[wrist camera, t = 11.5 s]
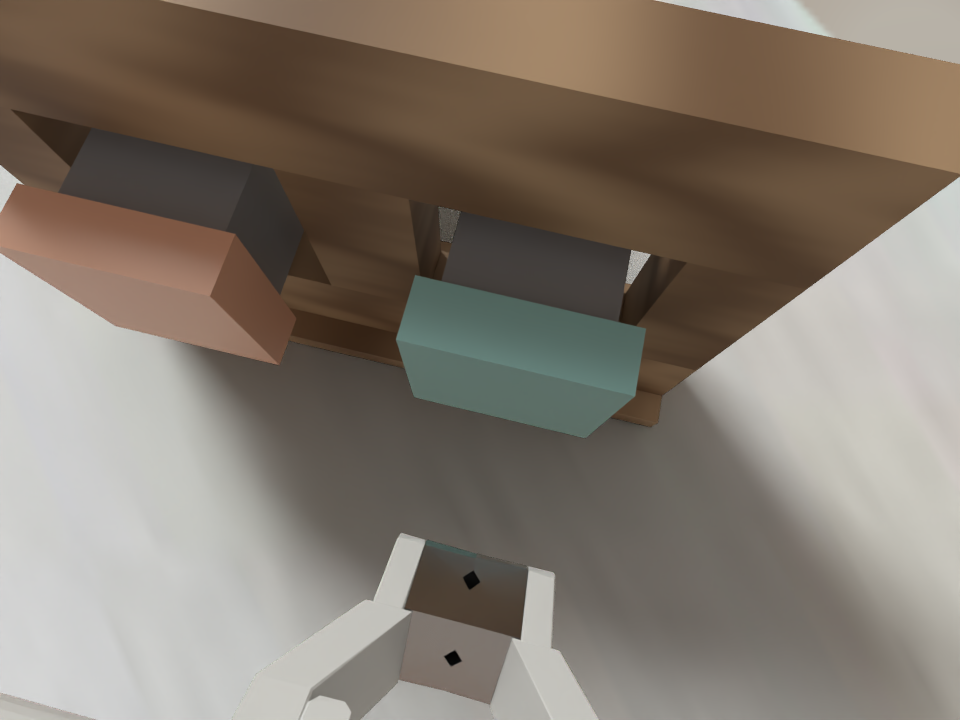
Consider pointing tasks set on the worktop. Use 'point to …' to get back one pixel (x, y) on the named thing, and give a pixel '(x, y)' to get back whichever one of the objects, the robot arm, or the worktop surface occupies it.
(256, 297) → the terracotta button
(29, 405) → the worktop surface
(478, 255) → the teal button
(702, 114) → the walnut panel
